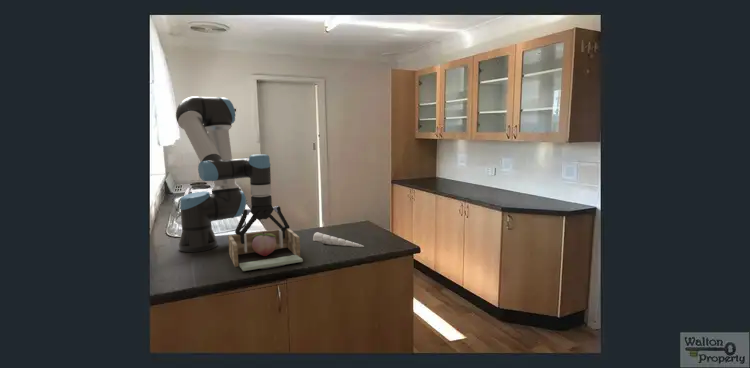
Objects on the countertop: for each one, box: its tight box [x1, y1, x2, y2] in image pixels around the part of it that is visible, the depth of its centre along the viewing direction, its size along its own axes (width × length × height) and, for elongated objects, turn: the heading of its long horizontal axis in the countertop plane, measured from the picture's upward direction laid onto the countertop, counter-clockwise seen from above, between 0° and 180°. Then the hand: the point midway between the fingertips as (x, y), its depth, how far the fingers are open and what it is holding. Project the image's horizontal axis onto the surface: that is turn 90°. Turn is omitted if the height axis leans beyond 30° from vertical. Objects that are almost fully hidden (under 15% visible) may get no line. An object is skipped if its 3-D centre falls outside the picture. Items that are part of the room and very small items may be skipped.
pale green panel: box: [238, 254, 304, 272], centre depth 149 cm, size 2×21×8 cm
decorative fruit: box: [252, 230, 276, 257], centre depth 160 cm, size 9×8×10 cm
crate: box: [227, 228, 301, 268], centre depth 160 cm, size 16×24×9 cm, turn 116°
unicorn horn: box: [312, 231, 365, 248], centre depth 178 cm, size 5×24×5 cm, turn 65°
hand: (263, 249), depth 160 cm, fingers open, 13 cm apart
